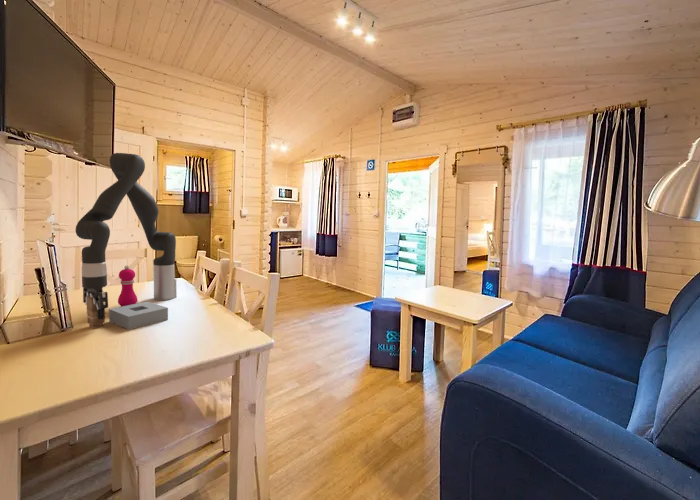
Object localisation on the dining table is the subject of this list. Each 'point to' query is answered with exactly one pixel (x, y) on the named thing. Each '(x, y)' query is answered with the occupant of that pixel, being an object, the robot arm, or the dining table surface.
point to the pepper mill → (127, 287)
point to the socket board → (138, 315)
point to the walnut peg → (93, 314)
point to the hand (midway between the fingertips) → (95, 316)
